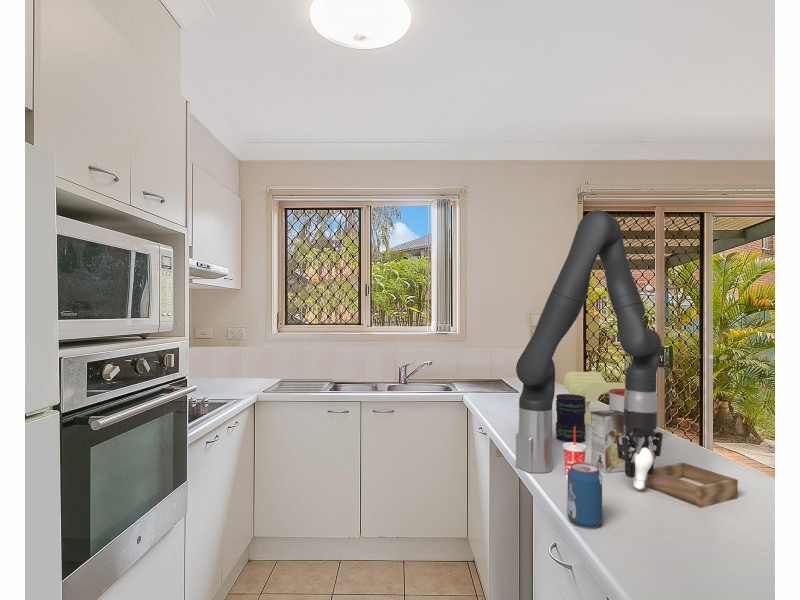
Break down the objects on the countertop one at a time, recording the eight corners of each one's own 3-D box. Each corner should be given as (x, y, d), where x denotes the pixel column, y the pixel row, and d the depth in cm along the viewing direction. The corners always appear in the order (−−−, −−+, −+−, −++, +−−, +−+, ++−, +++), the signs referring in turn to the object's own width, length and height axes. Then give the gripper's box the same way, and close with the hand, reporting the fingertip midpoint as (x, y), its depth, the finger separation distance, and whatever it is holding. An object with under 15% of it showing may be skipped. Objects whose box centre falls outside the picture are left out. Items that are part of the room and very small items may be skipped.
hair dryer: (563, 411, 213) (563, 371, 214) (600, 412, 212) (600, 372, 213) (585, 428, 183) (585, 381, 184) (628, 429, 182) (628, 382, 183)
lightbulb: (629, 483, 124) (630, 440, 125) (655, 489, 120) (656, 445, 121) (622, 489, 120) (623, 445, 120) (649, 496, 116) (650, 450, 116)
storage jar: (581, 436, 173) (581, 394, 173) (589, 443, 163) (589, 399, 163) (552, 434, 174) (553, 393, 174) (559, 442, 164) (559, 398, 164)
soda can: (606, 522, 103) (607, 466, 103) (595, 533, 98) (595, 474, 98) (574, 513, 108) (575, 459, 108) (562, 523, 102) (562, 467, 103)
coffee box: (616, 463, 142) (616, 409, 142) (632, 470, 136) (632, 414, 136) (590, 466, 140) (590, 411, 140) (605, 473, 134) (605, 415, 134)
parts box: (700, 507, 111) (700, 488, 111) (647, 486, 124) (647, 469, 124) (737, 498, 117) (737, 479, 117) (682, 479, 130) (682, 462, 130)
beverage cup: (588, 477, 130) (588, 425, 131) (584, 484, 125) (584, 430, 125) (565, 473, 134) (565, 422, 134) (560, 480, 128) (560, 427, 128)
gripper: (647, 403, 127) (645, 467, 126) (607, 407, 121) (606, 474, 121) (673, 409, 120) (672, 476, 120) (632, 413, 114) (631, 484, 114)
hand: (639, 475), depth 120 cm, fingers closed on lightbulb, 6 cm apart
